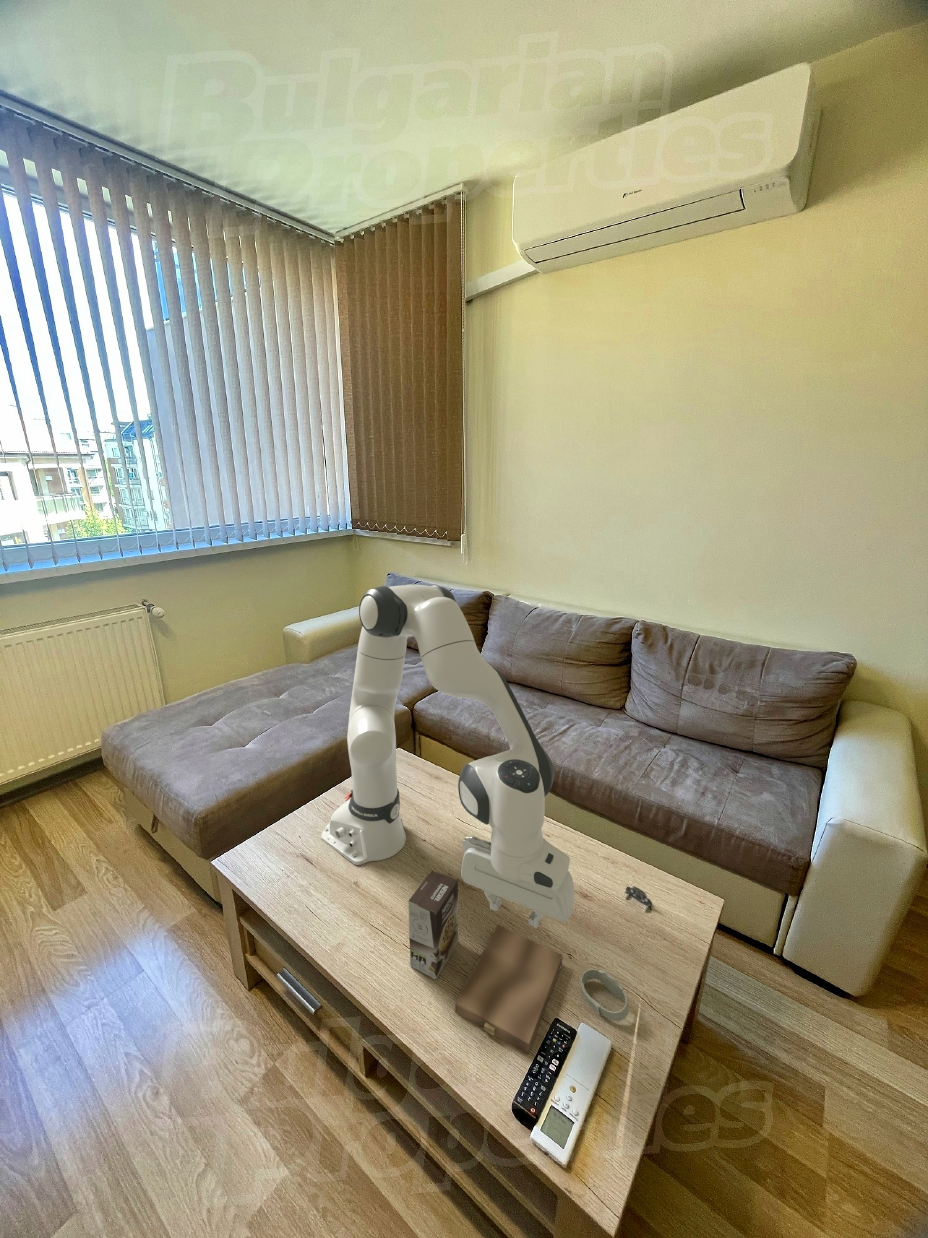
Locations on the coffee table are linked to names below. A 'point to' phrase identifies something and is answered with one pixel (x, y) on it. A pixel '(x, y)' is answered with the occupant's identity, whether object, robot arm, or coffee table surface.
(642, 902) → the dark grey irregular piece
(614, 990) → the grey oval ring piece
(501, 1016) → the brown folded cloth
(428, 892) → the coffee box
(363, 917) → the coffee table surface
